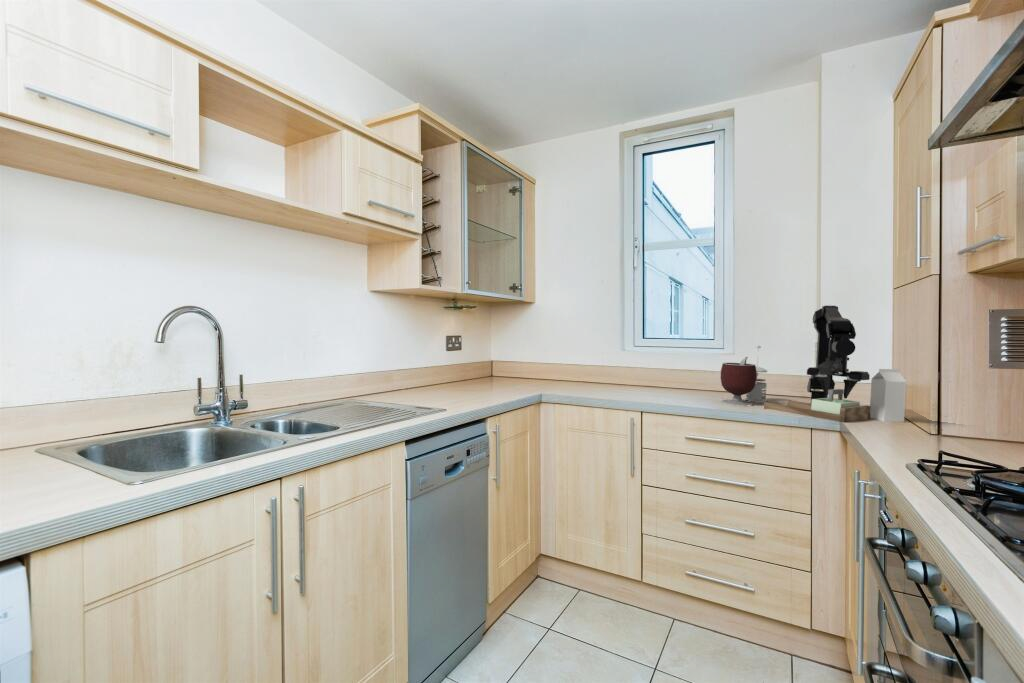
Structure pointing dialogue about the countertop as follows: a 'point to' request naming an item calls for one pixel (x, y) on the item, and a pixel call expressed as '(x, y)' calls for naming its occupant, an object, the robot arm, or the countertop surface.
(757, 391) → the french press
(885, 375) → the milk carton
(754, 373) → the mate gourd
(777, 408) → the bay
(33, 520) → the countertop surface
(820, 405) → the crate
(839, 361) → the robot arm
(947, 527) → the countertop surface
